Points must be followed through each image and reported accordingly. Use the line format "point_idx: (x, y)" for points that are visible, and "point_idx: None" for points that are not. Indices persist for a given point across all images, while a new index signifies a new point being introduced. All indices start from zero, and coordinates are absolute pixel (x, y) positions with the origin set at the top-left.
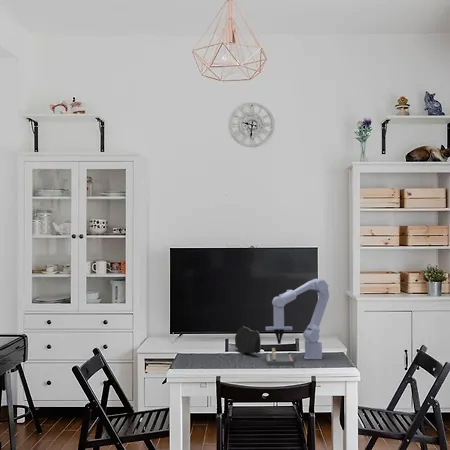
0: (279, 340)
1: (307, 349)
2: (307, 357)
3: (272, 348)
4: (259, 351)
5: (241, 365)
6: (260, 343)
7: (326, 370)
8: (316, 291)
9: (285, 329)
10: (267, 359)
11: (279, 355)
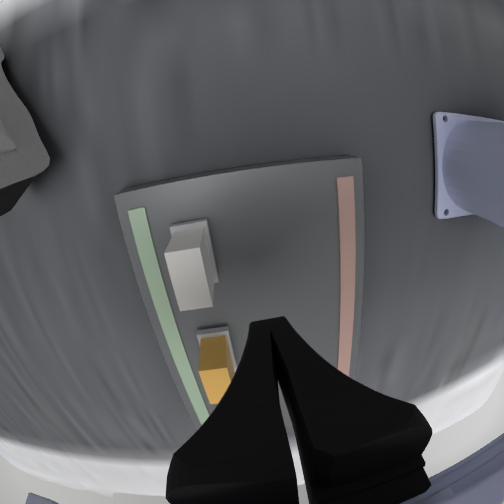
0: (284, 398)
1: (494, 219)
2: (454, 201)
3: (176, 281)
4: (42, 166)
5: (89, 424)
6: (2, 185)
7: (434, 419)
8: None
9: (447, 486)
10: (188, 402)
11: (252, 240)
